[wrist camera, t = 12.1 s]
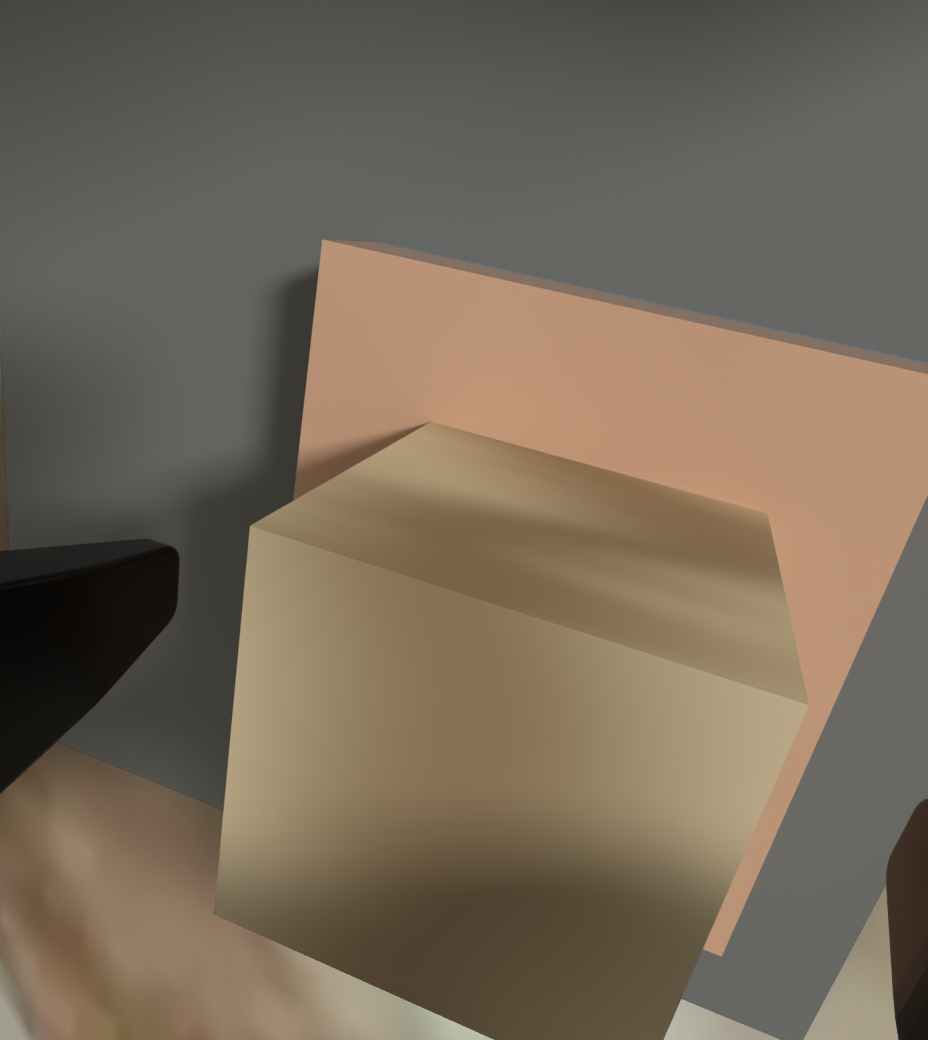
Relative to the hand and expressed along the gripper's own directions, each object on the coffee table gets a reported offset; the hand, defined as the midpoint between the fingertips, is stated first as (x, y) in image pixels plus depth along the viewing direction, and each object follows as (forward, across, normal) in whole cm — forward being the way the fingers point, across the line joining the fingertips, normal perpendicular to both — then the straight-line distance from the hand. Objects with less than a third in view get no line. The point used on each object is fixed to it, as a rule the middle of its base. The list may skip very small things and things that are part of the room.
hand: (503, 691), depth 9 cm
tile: (+3, 0, -4) cm, 5 cm away
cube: (+2, 0, 0) cm, 2 cm away
